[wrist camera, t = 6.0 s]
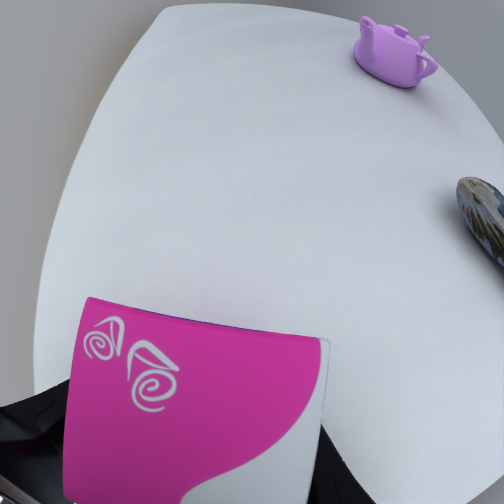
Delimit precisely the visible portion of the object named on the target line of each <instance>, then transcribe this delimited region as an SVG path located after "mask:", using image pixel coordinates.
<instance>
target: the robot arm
mask: <svg viewBox="0 0 504 504" xmlns="http://www.w3.org/2000/svg"><path fill="white" fill-rule="evenodd" d="M69 383H70V379H68V380H66V381H64V382H62V383H60V384H58V385H57V386H54V387H52V388H50V389H48V390H46V391H44V392H42V393H40V394H38V395H35V396H33V397H30V398H27V399H25V400H22V401H19V402H16V403H13V404H10V405H7V406H4V407H0V504H74V502H73V501H71V500H69V499H67V498H66V497H65V496H64V490H63V446H64V429H65V418H66V409H67V399H68V391H69ZM342 460H343V459H342V458H341V456H340V454H339V453H338V451H337V449H336V448H335V446H334V444H333V443H332V441H331V439H330V438H329V436H328V434H327V433H326V431H325V429H324V428H323V426H322V424H321V427H320V434H319V441H318V448H317V454H316V460H315V465H314V471H313V476H312V481H311V486H310V491H309V495H308V500H307V504H376V503H375V502H374V501H373V500H372V499H371V497H370V496H369V495H368V494H367V493H366V492H365V490H364V489H363V488H362V487H361V485H360V484H359V483H358V482H357V480H356V479H355V478H354V476H353V475H352V473H351V472H350V470H349V469H348V467H347V466H346V464H345V462H344V461H342Z"/></svg>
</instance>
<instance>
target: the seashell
mask: <svg viewBox="0 0 504 504" xmlns="http://www.w3.org/2000/svg"><path fill="white" fill-rule="evenodd" d="M456 194H457V201H458V204H459V207H460V210H461V212H462V214H463V217H464V219H465V221H466V223H467V225H468V226H469V228H470V230H471V231H472V233H473V234H474V236H475V237H476V238H477V239H478V240H479V242H480V243H481V244H482V245H483V246H484V248H485V249H486V250H487V251H488V253H489V254H490V255H491V256H492V257H493V258H494V259H495V260H496V261H498V262H499V263H500V264H501V265H502V266H503V267H504V196H503V195H502V194H501V193H500V192H499V191H498V189H496V188H495V187H494V186H492V185H491V184H489V183H487V182H485V181H483V180H481V179H478V178H476V177H473V178H472V177H465V178H462V179H460V180H459V182H458V185H457V189H456Z"/></svg>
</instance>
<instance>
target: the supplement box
mask: <svg viewBox="0 0 504 504" xmlns="http://www.w3.org/2000/svg"><path fill="white" fill-rule="evenodd" d="M329 354H330V341H329V340H328V339H324V338H316V337H308V336H300V335H290V334H281V333H274V332H267V331H259V330H251V329H244V328H237V327H231V326H225V325H219V324H213V323H207V322H201V321H195V320H190V319H185V318H179V317H174V316H169V315H164V314H159V313H155V312H150V311H146V310H141V309H137V308H132V307H128V306H124V305H120V304H116V303H112V302H108V301H104V300H100V299H97V298H93V297H88V298H87V300H86V303H85V306H84V309H83V313H82V316H81V320H80V325H79V328H78V334H77V338H76V343H75V348H74V354H73V360H72V368H71V376H70V383H69V391H68V399H67V409H66V418H65V429H64V446H63V490H64V496H65V497H66V498H67V499H69V500H71V501H73V502H75V503H77V504H307V500H308V495H309V491H310V486H311V481H312V476H313V471H314V465H315V460H316V454H317V448H318V441H319V434H320V427H321V420H322V413H323V406H324V399H325V391H326V383H327V375H328V362H329Z"/></svg>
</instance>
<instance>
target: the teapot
mask: <svg viewBox="0 0 504 504" xmlns="http://www.w3.org/2000/svg"><path fill="white" fill-rule="evenodd" d="M369 24H370V25H371V26H373V28H371V27H369V26H368V25H369ZM360 31H361V37H360V38H359V39H358V40H357V42H356V43H355V45H354V48H353V53H354V56H355V58H356V60H357V62H358V63H359V65H360V66H361V67H362V68H363V69H364V70H366V71H367V72H368V73H370V74H371V75H373V76H375V77H376V78H378V79H380V80H382V81H384V82H386V83H389V84H391V85H394V86H397V87H402V88H407V87H412V86H415V85H418V84H419V83H420V81H421V79H422V78H425V77H427V76H429V75H431V74H433V73H434V72H435V71H436V70H437V68H438V64H437V62H436V61H435V60H433V59H432V58H430V57H428V56H426V55H424V54H422V50H423V47H424V44H425V43H426V41H427V40H429V39H430V37H429V36H426V35H424V36H421V37H420V38H419V39H417V40H416V41H415V40H414V39H412V38H411V37H409V36H408V35H407V34H408V33H409V31H408V30H407V29H405V28H403V27H401V26H399V25H395V26H394V28H391V27H388V26H385V25H377V24H376V23H375V22H374V21H373V20H372V19H370V18H369V17H366V16H364V17H362V18H361V21H360ZM423 59H424V60H425V61H427V66H426V68H425V69H424V70H423V68H424V65H423Z"/></svg>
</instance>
